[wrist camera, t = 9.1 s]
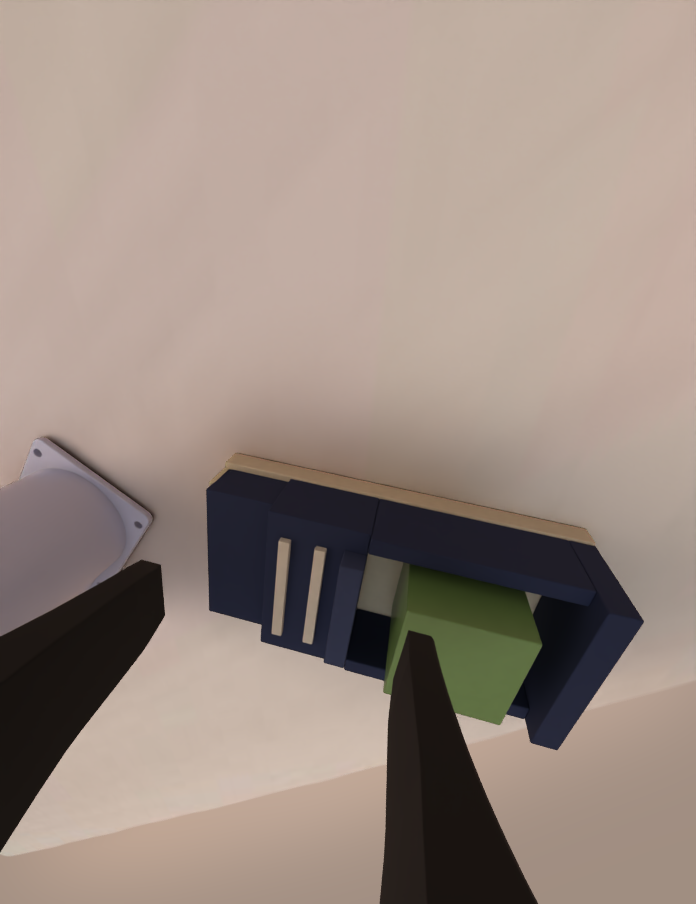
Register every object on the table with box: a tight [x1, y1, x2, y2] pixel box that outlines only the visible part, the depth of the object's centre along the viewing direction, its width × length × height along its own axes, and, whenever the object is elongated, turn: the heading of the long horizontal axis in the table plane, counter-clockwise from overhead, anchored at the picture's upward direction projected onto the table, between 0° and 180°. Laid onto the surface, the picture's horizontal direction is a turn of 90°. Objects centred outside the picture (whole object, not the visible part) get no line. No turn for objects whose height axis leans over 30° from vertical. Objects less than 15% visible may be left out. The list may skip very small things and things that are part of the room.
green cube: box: [383, 562, 542, 725], centre depth 17 cm, size 5×5×5 cm
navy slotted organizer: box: [206, 453, 644, 750], centre depth 18 cm, size 18×8×6 cm, turn 82°
